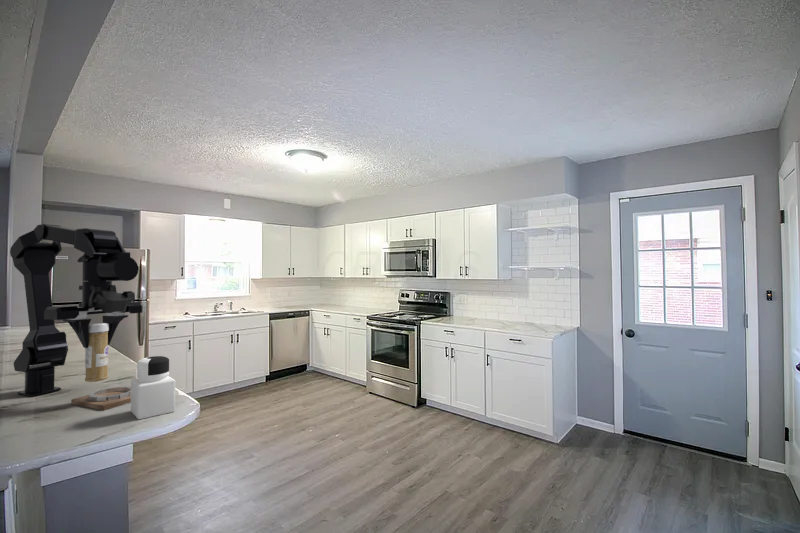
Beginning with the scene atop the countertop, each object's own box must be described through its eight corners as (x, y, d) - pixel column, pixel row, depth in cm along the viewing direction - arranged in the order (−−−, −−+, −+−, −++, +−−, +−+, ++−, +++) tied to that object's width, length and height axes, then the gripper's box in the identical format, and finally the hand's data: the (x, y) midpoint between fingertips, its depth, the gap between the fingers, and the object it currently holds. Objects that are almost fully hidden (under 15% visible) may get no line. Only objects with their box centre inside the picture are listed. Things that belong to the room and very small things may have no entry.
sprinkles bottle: (107, 380, 94) (108, 323, 94) (83, 383, 92) (83, 325, 92) (109, 376, 98) (109, 322, 98) (85, 379, 96) (86, 323, 96)
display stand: (71, 403, 93) (71, 395, 93) (119, 391, 103) (119, 383, 104) (104, 410, 89) (104, 401, 89) (151, 396, 99) (151, 388, 99)
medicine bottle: (166, 404, 93) (167, 353, 93) (175, 411, 88) (176, 357, 88) (130, 411, 88) (131, 357, 88) (137, 420, 83) (138, 362, 83)
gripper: (72, 281, 84) (71, 355, 83) (157, 280, 101) (156, 342, 100) (42, 281, 88) (42, 352, 88) (128, 280, 105) (128, 339, 105)
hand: (96, 346), depth 95 cm, fingers closed on sprinkles bottle, 4 cm apart
